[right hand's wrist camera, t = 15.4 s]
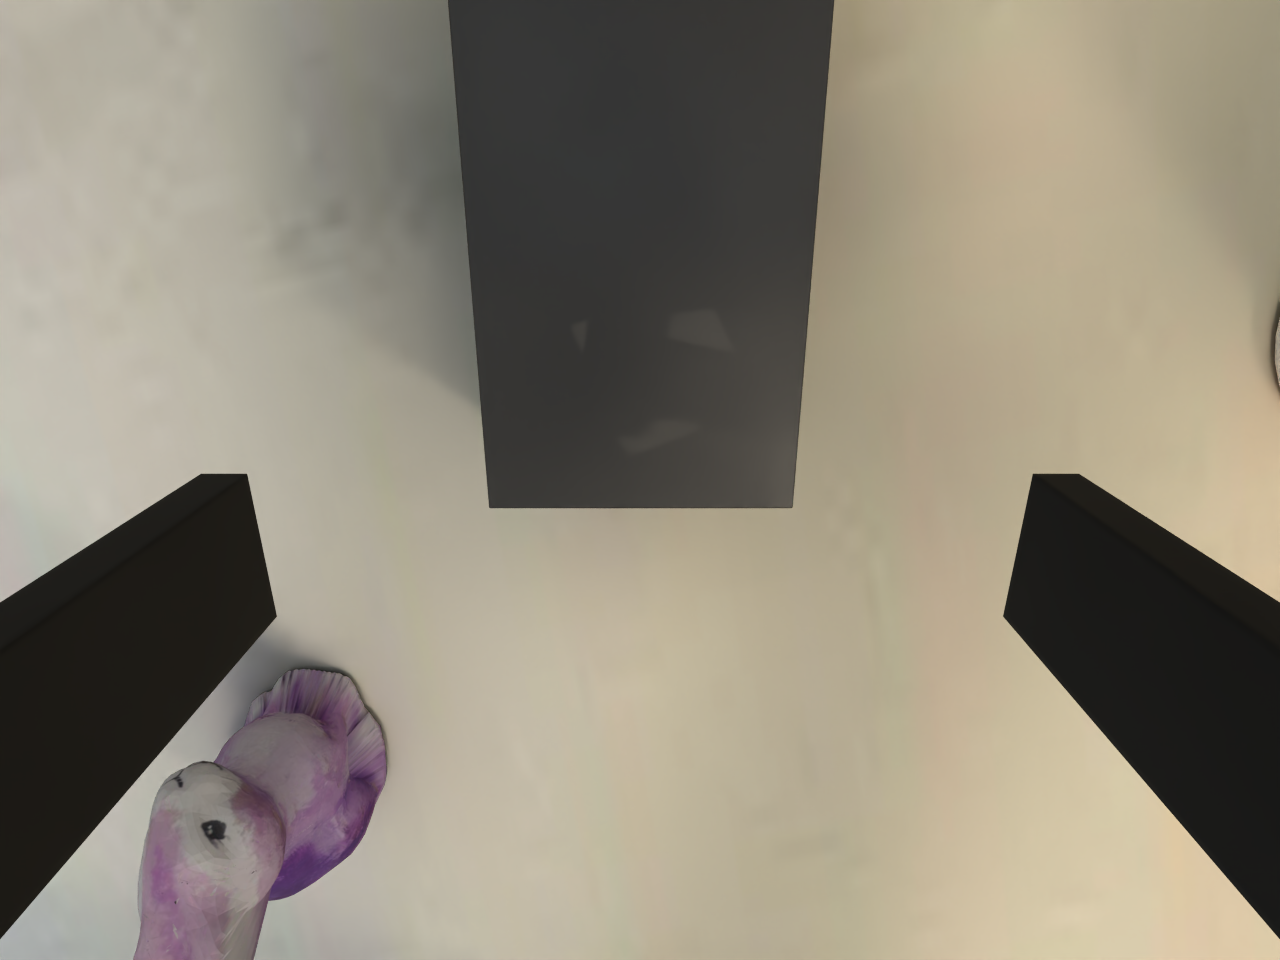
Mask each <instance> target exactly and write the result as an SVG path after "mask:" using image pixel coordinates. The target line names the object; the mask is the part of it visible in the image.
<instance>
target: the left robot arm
mask: <svg viewBox="0 0 1280 960" xmlns="http://www.w3.org/2000/svg"><path fill="white" fill-rule="evenodd" d="M1275 365H1276V371H1277V376H1278V382H1279V386H1280V319H1279V323H1278V327H1277V331H1276V342H1275Z"/></svg>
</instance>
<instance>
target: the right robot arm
mask: <svg viewBox="0 0 1280 960" xmlns="http://www.w3.org/2000/svg"><path fill="white" fill-rule="evenodd" d="M276 617H277V615H276V610H275V605H274V601H273V596H272V591H271V586H270V581H269V577H268V572H267V567H266V562H265V558H264V553H263V548H262V543H261V538H260V534H259V529H258V524H257V519H256V515H255V510H254V505H253V500H252V495H251V491H250V486H249V481H248V476H247V474H200V475H199V476H197V477H195V478H194V479H192V480H191V481H189V482H188V483H186V484H185V485H183V486H181V487H180V488H178V489H177V490H175V491H174V492H172V493H171V494H169V495H167V496H166V497H164V498H163V499H161V500H160V501H158V502H156V503H155V504H153V505H152V506H150V507H149V508H147V509H146V510H144V511H142V512H141V513H139V514H138V515H136V516H135V517H133V518H131V519H130V520H128V521H127V522H125V523H124V524H122V525H121V526H119V527H117V528H116V529H114V530H113V531H111V532H110V533H108V534H106V535H105V536H103V537H102V538H100V539H99V540H97V541H96V542H94V543H92V544H91V545H89V546H88V547H86V548H85V549H83V550H82V551H80V552H78V553H77V554H75V555H74V556H72V557H71V558H69V559H67V560H66V561H64V562H63V563H61V564H60V565H58V566H57V567H55V568H53V569H52V570H50V571H49V572H47V573H46V574H44V575H42V576H41V577H39V578H38V579H36V580H35V581H33V582H32V583H30V584H28V585H27V586H25V587H24V588H22V589H21V590H19V591H17V592H16V593H14V594H13V595H11V596H10V597H8V598H7V599H5V600H3V601H2V602H0V939H1V938H2V936H3V935H4V934H5V933H6V932H7V931H8V929H9V928H10V927H11V926H12V925H13V924H14V922H15V921H16V920H17V919H18V918H19V917H20V915H21V914H22V913H23V912H24V911H25V910H26V908H27V907H28V906H29V905H30V904H31V903H32V901H33V900H34V899H35V898H36V897H37V896H38V894H39V893H40V892H41V891H42V890H43V889H44V887H45V886H46V885H47V884H48V883H49V882H50V880H51V879H52V878H53V877H54V876H55V875H56V873H57V872H58V871H59V870H60V869H61V868H62V866H63V865H64V864H65V863H66V862H67V861H68V859H69V858H70V857H71V856H72V855H73V854H74V852H75V851H76V850H77V849H78V848H79V847H80V845H81V844H82V843H83V842H84V841H85V840H86V838H87V837H88V836H89V835H90V834H91V833H92V831H93V830H94V829H95V828H96V827H97V826H98V824H99V823H100V822H101V821H102V820H103V819H104V817H105V816H106V815H107V814H108V813H109V812H110V810H111V809H112V808H113V807H114V806H115V805H116V803H117V802H118V801H119V800H120V799H121V798H122V796H123V795H124V794H125V793H126V792H127V791H128V789H129V788H130V787H131V786H132V785H133V784H134V782H135V781H136V780H137V779H138V778H139V777H140V775H141V774H142V773H143V772H144V771H145V770H146V768H147V767H148V766H149V765H150V764H151V763H152V761H153V760H154V759H155V758H156V757H157V756H158V754H159V753H160V752H161V751H162V750H163V749H164V747H165V746H166V745H167V744H168V743H169V742H170V740H171V739H172V738H173V737H174V736H175V735H176V733H177V732H178V731H179V730H180V729H181V728H182V726H183V725H184V724H185V723H186V722H187V721H188V719H189V718H190V717H191V716H192V715H193V714H194V712H195V711H196V710H197V709H198V708H199V707H200V705H201V704H202V703H203V702H204V701H205V700H206V698H207V697H208V696H209V695H210V694H211V693H212V691H213V690H214V689H215V688H216V687H217V686H218V684H219V683H220V682H221V681H222V680H223V679H224V677H225V676H226V675H227V674H228V673H229V672H230V670H231V669H232V668H233V667H234V666H235V665H236V663H237V662H238V661H239V660H240V659H241V658H242V656H243V655H244V654H245V653H246V652H247V651H248V649H249V648H250V647H251V646H252V645H253V644H254V642H255V641H256V640H257V639H258V638H259V637H260V635H261V634H262V633H263V632H264V631H265V630H266V628H267V627H268V626H269V625H270V624H271V623H272V621H273V620H274V619H275V618H276ZM1003 617H1004V618H1005V619H1006V620H1007V621H1008V623H1009V624H1010V625H1011V626H1012V627H1013V628H1014V630H1015V631H1016V632H1017V633H1018V634H1019V635H1020V637H1021V638H1022V639H1023V640H1024V641H1025V642H1026V644H1027V645H1028V646H1029V647H1030V648H1031V649H1032V651H1033V652H1034V653H1035V654H1036V655H1037V656H1038V658H1039V659H1040V660H1041V661H1042V662H1043V663H1044V665H1045V666H1046V667H1047V668H1048V669H1049V670H1050V672H1051V673H1052V674H1053V675H1054V676H1055V677H1056V679H1057V680H1058V681H1059V682H1060V683H1061V684H1062V686H1063V687H1064V688H1065V689H1066V690H1067V691H1068V693H1069V694H1070V695H1071V696H1072V697H1073V698H1074V700H1075V701H1076V702H1077V703H1078V704H1079V705H1080V707H1081V708H1082V709H1083V710H1084V711H1085V712H1086V714H1087V715H1088V716H1089V717H1090V718H1091V719H1092V721H1093V722H1094V723H1095V724H1096V725H1097V726H1098V728H1099V729H1100V730H1101V731H1102V732H1103V733H1104V735H1105V736H1106V737H1107V738H1108V739H1109V740H1110V742H1111V743H1112V744H1113V745H1114V746H1115V747H1116V749H1117V750H1118V751H1119V752H1120V753H1121V754H1122V756H1123V757H1124V758H1125V759H1126V760H1127V761H1128V763H1129V764H1130V765H1131V766H1132V767H1133V768H1134V770H1135V771H1136V772H1137V773H1138V774H1139V775H1140V777H1141V778H1142V779H1143V780H1144V781H1145V782H1146V784H1147V785H1148V786H1149V787H1150V788H1151V789H1152V791H1153V792H1154V793H1155V794H1156V795H1157V796H1158V798H1159V799H1160V800H1161V801H1162V802H1163V803H1164V805H1165V806H1166V807H1167V808H1168V809H1169V810H1170V812H1171V813H1172V814H1173V815H1174V816H1175V817H1176V819H1177V820H1178V821H1179V822H1180V823H1181V824H1182V826H1183V827H1184V828H1185V829H1186V830H1187V831H1188V833H1189V834H1190V835H1191V836H1192V837H1193V838H1194V840H1195V841H1196V842H1197V843H1198V844H1199V845H1200V847H1201V848H1202V849H1203V850H1204V851H1205V852H1206V854H1207V855H1208V856H1209V857H1210V858H1211V859H1212V861H1213V862H1214V863H1215V864H1216V865H1217V866H1218V868H1219V869H1220V870H1221V871H1222V872H1223V873H1224V875H1225V876H1226V877H1227V878H1228V879H1229V880H1230V882H1231V883H1232V884H1233V885H1234V886H1235V887H1236V889H1237V890H1238V891H1239V892H1240V893H1241V894H1242V896H1243V897H1244V898H1245V899H1246V900H1247V901H1248V903H1249V904H1250V905H1251V906H1252V907H1253V908H1254V910H1255V911H1256V912H1257V913H1258V914H1259V915H1260V917H1261V918H1262V919H1263V920H1264V921H1265V922H1266V924H1267V925H1268V926H1269V927H1270V928H1271V929H1272V931H1273V932H1274V933H1275V934H1276V935H1277V936H1278V938H1279V939H1280V602H1278V601H1277V600H1275V599H1273V598H1272V597H1270V596H1269V595H1267V594H1266V593H1264V592H1263V591H1261V590H1259V589H1258V588H1256V587H1255V586H1253V585H1252V584H1250V583H1248V582H1247V581H1245V580H1244V579H1242V578H1241V577H1239V576H1238V575H1236V574H1234V573H1233V572H1231V571H1230V570H1228V569H1227V568H1225V567H1223V566H1222V565H1220V564H1219V563H1217V562H1216V561H1214V560H1213V559H1211V558H1209V557H1208V556H1206V555H1205V554H1203V553H1202V552H1200V551H1198V550H1197V549H1195V548H1194V547H1192V546H1191V545H1189V544H1188V543H1186V542H1184V541H1183V540H1181V539H1180V538H1178V537H1177V536H1175V535H1174V534H1172V533H1170V532H1169V531H1167V530H1166V529H1164V528H1163V527H1161V526H1159V525H1158V524H1156V523H1155V522H1153V521H1152V520H1150V519H1149V518H1147V517H1145V516H1144V515H1142V514H1141V513H1139V512H1138V511H1136V510H1134V509H1133V508H1131V507H1130V506H1128V505H1127V504H1125V503H1124V502H1122V501H1120V500H1119V499H1117V498H1116V497H1114V496H1113V495H1111V494H1109V493H1108V492H1106V491H1105V490H1103V489H1102V488H1100V487H1099V486H1097V485H1095V484H1094V483H1092V482H1091V481H1089V480H1088V479H1086V478H1085V477H1083V476H1081V475H1080V474H1033V476H1032V481H1031V486H1030V491H1029V495H1028V500H1027V505H1026V510H1025V515H1024V519H1023V524H1022V529H1021V534H1020V538H1019V543H1018V548H1017V553H1016V558H1015V562H1014V567H1013V572H1012V577H1011V581H1010V586H1009V591H1008V596H1007V601H1006V605H1005V610H1004V615H1003Z"/></svg>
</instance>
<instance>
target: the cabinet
mask: <svg viewBox="0 0 1280 960" xmlns="http://www.w3.org/2000/svg"><path fill="white" fill-rule="evenodd" d="M448 7H449V19H450V32H451V44H452V56H453V69H454V81H455V93H456V106H457V118H458V130H459V142H460V155H461V167H462V179H463V192H464V204H465V216H466V228H467V241H468V253H469V265H470V278H471V290H472V302H473V315H474V327H475V339H476V351H477V364H478V376H479V388H480V401H481V413H482V425H483V437H484V450H485V462H486V474H487V487H488V499H489V508H792V507H793V496H794V483H795V471H796V459H797V447H798V435H799V423H800V410H801V398H802V386H803V374H804V362H805V350H806V337H807V325H808V313H809V301H810V289H811V277H812V264H813V252H814V240H815V228H816V216H817V204H818V191H819V179H820V167H821V155H822V143H823V131H824V118H825V106H826V94H827V82H828V70H829V58H830V45H831V33H832V21H833V9H834V0H448Z"/></svg>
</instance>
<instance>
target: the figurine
mask: <svg viewBox="0 0 1280 960" xmlns="http://www.w3.org/2000/svg"><path fill="white" fill-rule="evenodd" d="M386 772H387V769H386V757H385V743H384V740H383V736H382V732H381V726H380V725H379V724H378V723H377V722H376V720H375V719H374V718H373V716H372V715H371V714H370V713H369V711H368V710H367V709H366V708H365V707H364V704H363V703H362V701H361V700H360V695H359V694H358V691H357V688H356V687H355V685H354V684H353V682H352V681H351V679H350V678H349V677H347V676H343V675H342V674H340V673H338V674H337V673H335V672H334V673H331V672H326V671H323V672H321V671H320V670H318V671H316V670H310V669H307V670H306V669H300V670H297V669H295V670H293V671H288V672H286V673H285V674H284V675H282V676H281V677H280V678H279V679H278V681H277V682H276V684H275V685H274V687H273V689H272V690H271V691H269V692H267V691H266V692H264V693H262V694H261V695H259V696H258V697H257V698H256V699H255V700H254V701H253V702H252V704H251V706H250V710H249V712H248V716H247V718H246V721H245V725H244V727H243V728H242V729H241V730H239V731H238V732H237V733H235V734H234V735H233V736H232V737H231V738H230V739H229V740H228V741H227V743H226V744H225V745H224V746H223V748H222V749H221V751H220V753H219V755H218V757H217V759H216V760H215V761H214V763H213V762H207V761H201V762H196V763H193V764H191V765H189V766H188V767H186V768H184V769H181V770H179V771H177V772H175V773H173V774H172V775H170V776H169V777H168V778H167V779H166V780H165V781H164V782H163V784H162V786H161V787H160V789H159V790H158V792H157V795H156V797H155V800H154V803H153V807H152V811H151V817H150V822H149V828H148V831H147V835H146V838H145V843H144V848H143V855H142V860H141V866H140V872H139V881H138V910H139V915H140V919H141V929H140V936H139V940H138V945H137V949H136V952H135V955H134V959H133V960H254V956H255V952H256V948H257V944H258V939H259V935H260V931H261V927H262V923H263V919H264V915H265V911H266V907H267V903H268V901H271V900H278V899H283V898H286V897H289V896H291V895H294V894H296V893H297V892H299V891H301V890H303V889H304V888H306V887H308V886H309V885H311V884H312V883H314V882H315V881H317V880H318V879H319V878H321V877H322V876H323V875H325V874H326V873H327V872H329V871H330V870H332V869H333V868H334V867H335V866H337V865H338V864H339V863H341V862H342V861H343V860H344V859H346V858H347V857H348V856H349V855H350V854H351V853H352V852H353V851H354V850H355V848H356V847H357V845H358V844H359V843H360V841H361V840H362V838H363V836H364V835H365V832H366V830H367V827H368V825H369V822H370V819H371V816H372V813H373V810H374V806H375V804H376V802H377V800H378V798H379V796H380V793H381V791H382V789H383V787H384V785H385V781H386Z"/></svg>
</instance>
